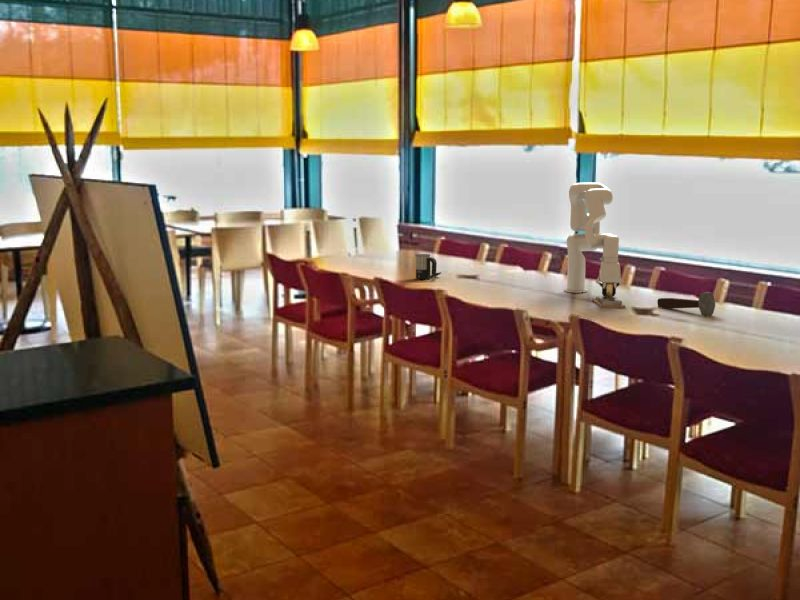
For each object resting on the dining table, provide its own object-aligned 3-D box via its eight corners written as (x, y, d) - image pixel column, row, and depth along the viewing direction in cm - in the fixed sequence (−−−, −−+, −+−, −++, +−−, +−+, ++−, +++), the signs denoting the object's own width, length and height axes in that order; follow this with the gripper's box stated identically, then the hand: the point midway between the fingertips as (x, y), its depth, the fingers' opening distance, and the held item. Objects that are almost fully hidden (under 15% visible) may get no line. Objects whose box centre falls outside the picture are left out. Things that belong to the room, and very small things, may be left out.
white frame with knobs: (592, 300, 445) (592, 292, 444) (615, 300, 445) (615, 292, 444) (601, 307, 425) (601, 299, 425) (625, 307, 425) (625, 299, 425)
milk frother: (413, 279, 512) (413, 255, 510) (420, 275, 527) (420, 252, 524) (436, 281, 508) (436, 256, 505) (443, 277, 523) (443, 252, 520)
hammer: (656, 314, 427) (709, 316, 403) (655, 292, 426) (708, 292, 402) (662, 313, 430) (715, 315, 405) (661, 291, 429) (714, 291, 404)
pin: (603, 298, 437) (604, 280, 435) (611, 298, 437) (612, 280, 435) (605, 299, 433) (606, 282, 431) (613, 299, 433) (614, 282, 431)
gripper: (595, 261, 427) (593, 297, 431) (628, 261, 427) (627, 297, 431) (592, 259, 435) (590, 294, 438) (624, 258, 435) (623, 294, 438)
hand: (608, 295), depth 435 cm, fingers closed on pin, 3 cm apart
